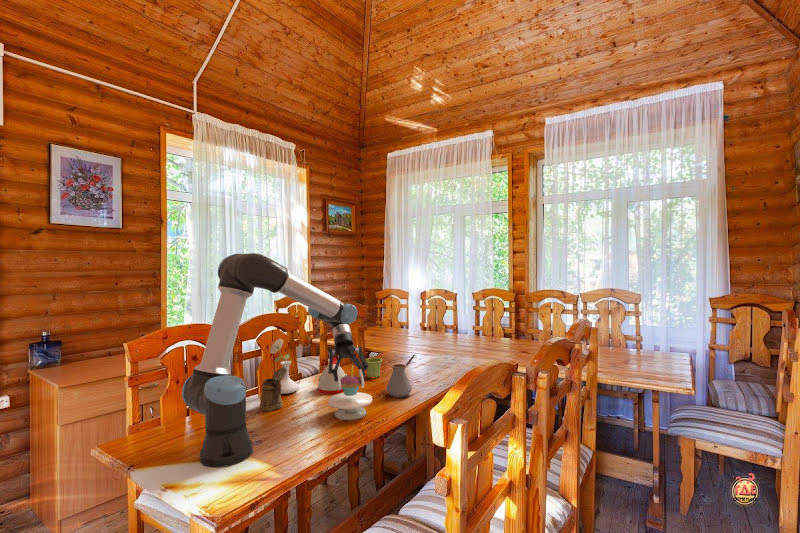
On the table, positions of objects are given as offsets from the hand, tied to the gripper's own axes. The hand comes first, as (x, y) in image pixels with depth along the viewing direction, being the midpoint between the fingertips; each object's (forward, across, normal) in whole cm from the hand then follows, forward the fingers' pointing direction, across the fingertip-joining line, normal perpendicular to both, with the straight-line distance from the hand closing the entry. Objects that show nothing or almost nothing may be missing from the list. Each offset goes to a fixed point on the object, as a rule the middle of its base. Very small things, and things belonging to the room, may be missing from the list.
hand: (351, 387), depth 157 cm
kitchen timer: (-18, +1, -35) cm, 40 cm away
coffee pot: (-7, -29, -24) cm, 38 cm away
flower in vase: (-21, +22, -38) cm, 49 cm away
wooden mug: (-7, +28, -24) cm, 37 cm away
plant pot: (-28, -22, -45) cm, 57 cm away
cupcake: (0, 0, -5) cm, 5 cm away
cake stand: (+6, 0, -10) cm, 12 cm away
